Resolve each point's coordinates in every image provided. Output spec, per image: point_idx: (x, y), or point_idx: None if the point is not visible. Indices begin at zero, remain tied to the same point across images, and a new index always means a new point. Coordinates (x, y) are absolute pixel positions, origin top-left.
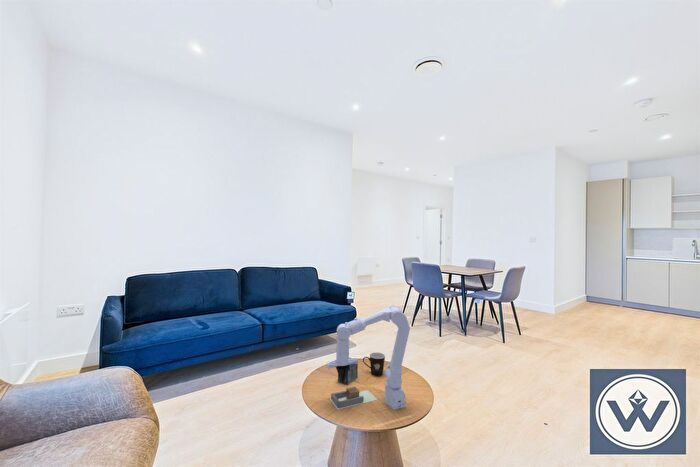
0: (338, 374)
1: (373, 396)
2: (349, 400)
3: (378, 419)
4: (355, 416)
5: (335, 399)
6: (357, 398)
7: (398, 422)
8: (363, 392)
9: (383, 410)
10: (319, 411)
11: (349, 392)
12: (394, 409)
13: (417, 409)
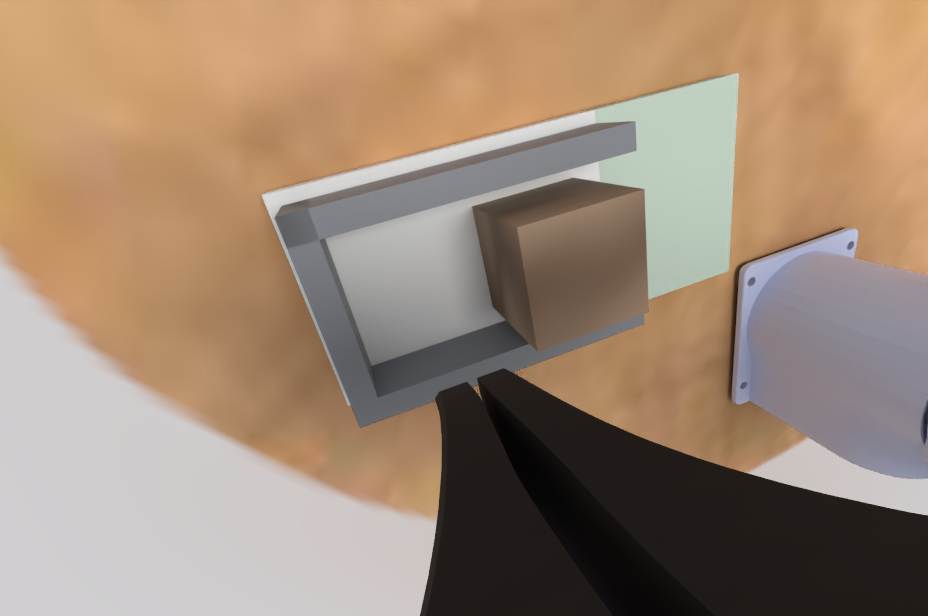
0: (442, 494)
1: (726, 216)
2: None
3: None
4: None
5: (330, 354)
6: (579, 347)
7: None
8: (679, 120)
9: (696, 377)
10: (140, 384)
11: (529, 322)
12: (760, 404)
13: None
